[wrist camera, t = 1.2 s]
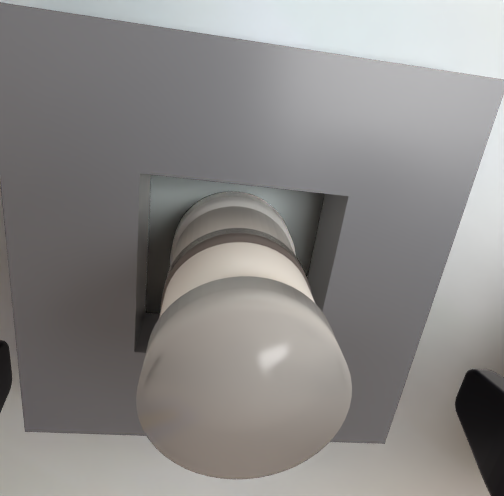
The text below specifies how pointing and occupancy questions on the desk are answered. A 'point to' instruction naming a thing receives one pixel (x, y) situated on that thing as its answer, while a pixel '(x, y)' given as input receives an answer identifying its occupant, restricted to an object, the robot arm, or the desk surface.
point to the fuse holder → (218, 170)
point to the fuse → (240, 348)
